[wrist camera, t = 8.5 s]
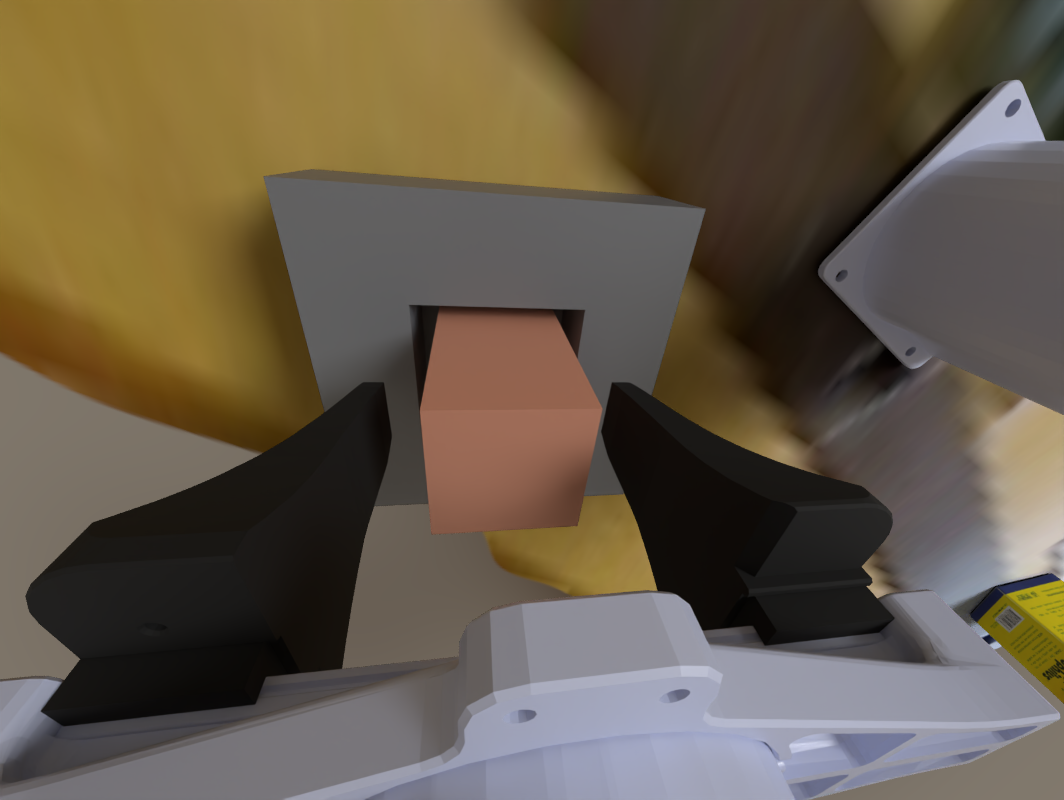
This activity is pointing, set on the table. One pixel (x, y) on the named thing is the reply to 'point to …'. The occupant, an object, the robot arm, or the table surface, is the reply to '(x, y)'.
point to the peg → (505, 422)
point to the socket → (474, 284)
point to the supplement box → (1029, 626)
